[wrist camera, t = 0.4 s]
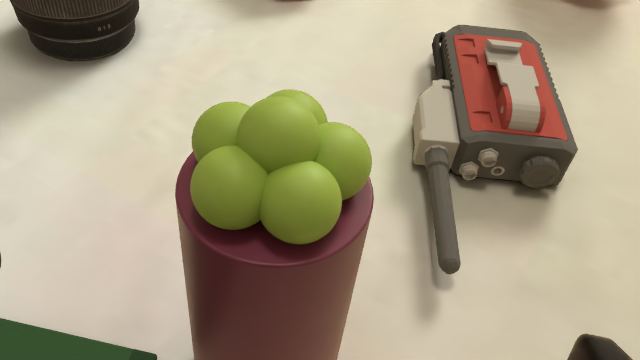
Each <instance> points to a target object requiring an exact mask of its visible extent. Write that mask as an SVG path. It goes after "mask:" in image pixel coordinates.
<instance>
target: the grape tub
mask: <svg viewBox="0 0 640 360" xmlns="http://www.w3.org/2000/svg"><path fill="white" fill-rule="evenodd" d="M192 148H193V152H192V153H191V154H190V156H189V157H188V158H187V160H186V161H185V163H184V164H183V166H182V168H181V170H180V173H179V175H178V178H177V183H176V192H175V197H176V205H177V214H178V223H179V231H180V240H181V248H182V257H183V265H184V274H185V283H186V291H187V300H188V308H189V317H190V325H191V334H192V343H193V351H194V360H337V356H338V352H339V348H340V344H341V340H342V335H343V331H344V327H345V323H346V318H347V314H348V310H349V306H350V302H351V297H352V293H353V289H354V285H355V280H356V276H357V272H358V268H359V264H360V259H361V255H362V251H363V247H364V243H365V238H366V234H367V230H368V226H369V221H370V217H371V213H372V209H373V199H374V197H373V188H372V184H371V180H370V177H369V175H370V171H371V165H372V159H371V153H370V149H369V147H368V144H367V142H366V141H365V139H364V138H363V137H362V135H361V134H360V133H359V132H357V131H356V130H355V129H353V128H352V127H350V126H348V125H345V124H342V123H336V122H327V117H326V114H325V112H324V110H323V108H322V107H321V105H320V104H319V103H318V102H317V101H316V100H315V99H314V98H313V97H312V96H310V95H308V94H306V93H304V92H301V91H298V90H282V91H278V92H275V93H273V94H271V95H270V96H268V97H267V98H266V99H263V100H261V101H259V102H257V103H255V104H254V105H253V106H251V107H250V106H248V105H245V104H242V103H238V102H225V103H220V104H217V105H215V106H213V107H211V108H209V109H208V110H206V111H205V112H204V113H203V114H202V115H201V116H200V118H199V119H198V121H197V122H196V125H195V127H194V129H193V134H192Z"/></svg>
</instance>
